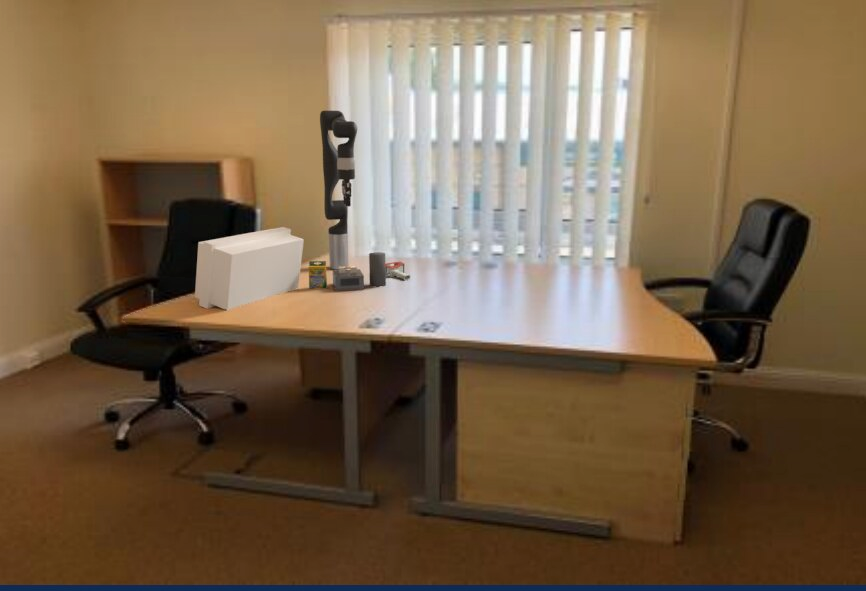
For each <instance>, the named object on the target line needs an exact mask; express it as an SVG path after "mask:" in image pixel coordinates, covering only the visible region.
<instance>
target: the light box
mask: <svg viewBox="0 0 866 591" xmlns="http://www.w3.org/2000/svg"><path fill="white" fill-rule="evenodd" d="M291 233H292V228H289V227H284V226H280V227H276V228H269V229H263V230H258V231H257V230H256V231H254V232H253V231H252V232H247V233H241V234H235V235H231V236H224V237H219V238H215V239H213V238H212V239H209V240H204V241H203V240H202V241H198V243H197V256H196V257H197V259H196V260H197V261H196V272H195V273H196V275H195V288H194V289H195V290H194V298H196V299H199V301H198V303H199V305H198V306H199V307H202V308H203V309H206V308H208V309H211V308H214V306H215V307H218V308H220V309H222V310H225V309H226V310H225V311H230V310H229V309H231V310H233V309H232V308H234V309H236V308H235V307H237V308H239V307H238V306H240V307H242V306H241V305H244V306H246V305H245V304H247V305H249V304H248V303H250V304H252V303H251V302H253V303H255V302H254V301H257V300H260V299H263V300H265V299H264V298H266V299H268V298H267V297H269V298H271V297H270V296H273V295H276V294H279V293H282V294H284V293H283V292H286V291H289V290H292V291H294V290H293V289H295V290H297V289H296V288H298V289H299V286H300V285H299V284H300V276H301V266H302V261H303V260H302V259H303V251H304V250H303V249H304V240H305V239H304V238H301V237H298V236H296V235H293V234H291ZM289 292H290V291H289ZM286 293H287V292H286ZM279 295H280V294H279ZM276 296H277V295H276ZM273 297H274V296H273ZM260 301H261V300H260ZM257 302H258V301H257Z"/></svg>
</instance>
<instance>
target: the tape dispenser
mask: <svg viewBox="0 0 866 591" xmlns="http://www.w3.org/2000/svg"><path fill="white" fill-rule="evenodd" d="M392 264H393V265H392ZM385 268H386V276H387V275H388V274H389V278H395V277H394V276H397V277H398V278H400V279H402V280H404V281H408V280H407V279H409V280H410V279H411V274H410V273H406V272H405V263H404V262H402V261H394V262H386V263H385ZM397 277H396V278H397Z"/></svg>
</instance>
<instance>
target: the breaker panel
mask: <svg viewBox="0 0 866 591" xmlns="http://www.w3.org/2000/svg"><path fill="white" fill-rule="evenodd" d="M364 279H365V277H364V273H363V272H362V271H361V269H359V268H357V273H351V272H350V269H345V273H339V269H332V285H333V284H334V285H333V287H334V286H335V287H334V289H336V290H342V291H352V290H351V289H361V290H365V280H364ZM336 290H335V291H336Z"/></svg>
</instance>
